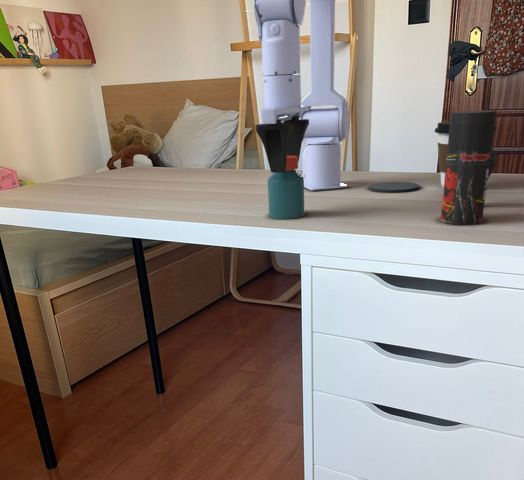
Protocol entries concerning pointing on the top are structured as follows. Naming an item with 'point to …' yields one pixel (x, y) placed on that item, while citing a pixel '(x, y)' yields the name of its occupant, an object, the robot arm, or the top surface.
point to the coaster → (393, 187)
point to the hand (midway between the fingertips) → (284, 169)
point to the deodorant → (467, 166)
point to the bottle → (286, 195)
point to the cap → (291, 163)
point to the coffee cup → (443, 146)
